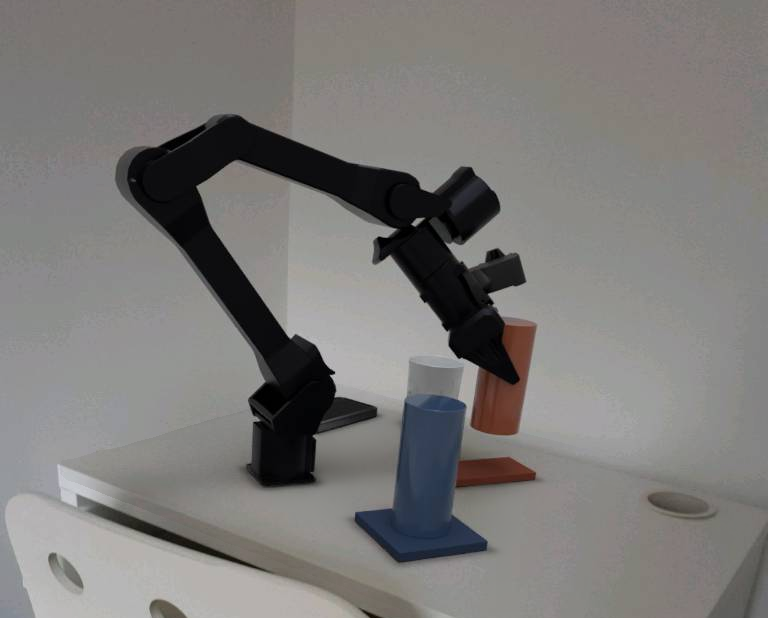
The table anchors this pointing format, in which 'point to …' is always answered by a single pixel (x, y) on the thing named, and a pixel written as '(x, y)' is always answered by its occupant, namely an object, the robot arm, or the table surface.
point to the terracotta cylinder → (505, 383)
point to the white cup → (434, 375)
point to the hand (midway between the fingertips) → (514, 376)
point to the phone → (346, 413)
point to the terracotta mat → (492, 471)
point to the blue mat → (419, 548)
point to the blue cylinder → (427, 465)
